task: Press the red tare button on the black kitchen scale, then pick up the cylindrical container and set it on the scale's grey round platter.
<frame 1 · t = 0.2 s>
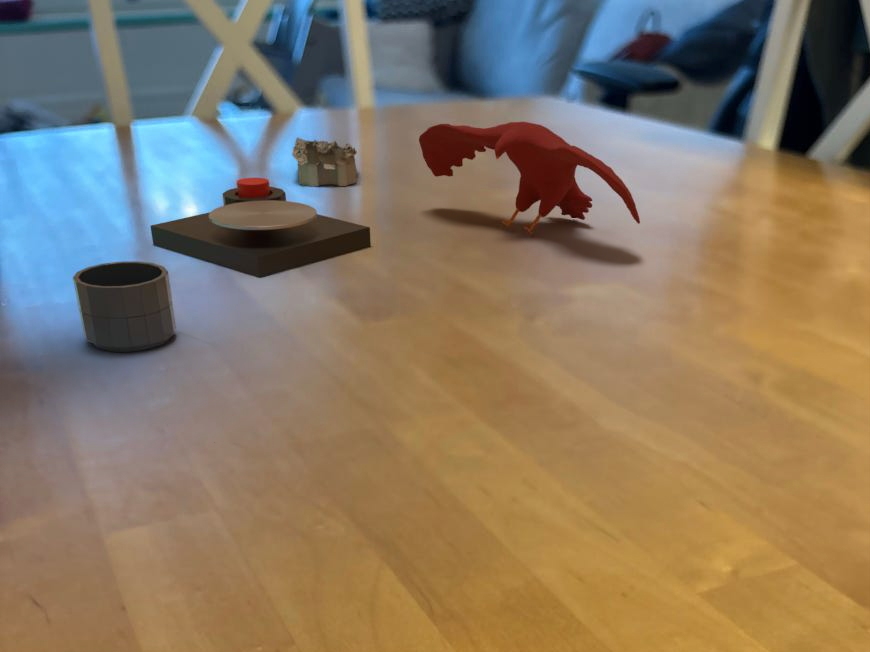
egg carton: (325, 179, 134), on the table
cylindrical container: (131, 338, 86), on the table
tare button: (253, 189, 112), point 4 cm above the table, slide at 0.1 cm
scale: (262, 246, 108), on the table
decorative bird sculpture: (536, 232, 114), on the table
grey round platter: (267, 254, 106), resting on scale
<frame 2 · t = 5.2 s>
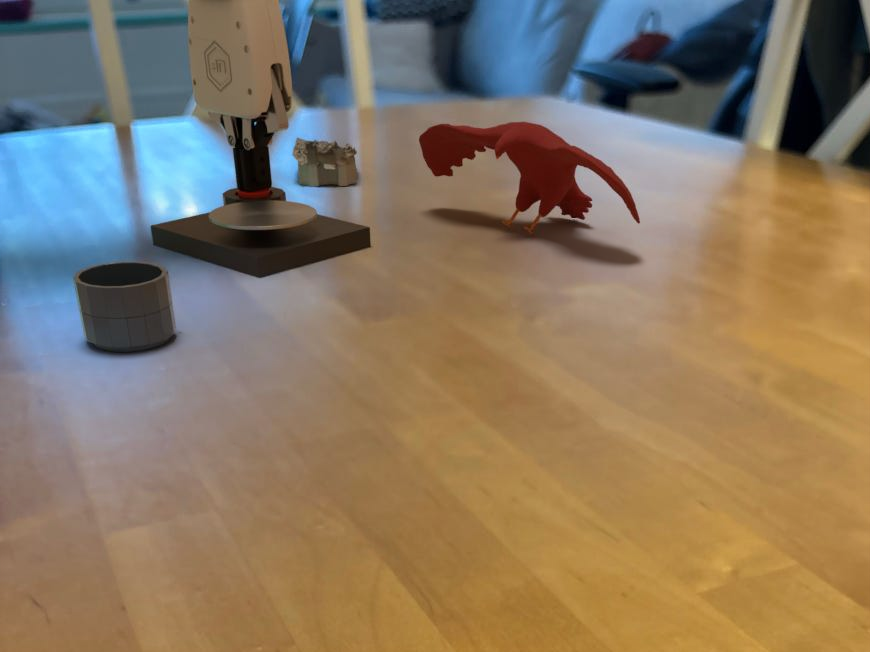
hand: (254, 188, 112), 4 cm above the table, tool pointing down, fingers closed
tare button: (254, 197, 112), point 3 cm above the table, slide at -0.7 cm, touching gripper
everything else where it was.
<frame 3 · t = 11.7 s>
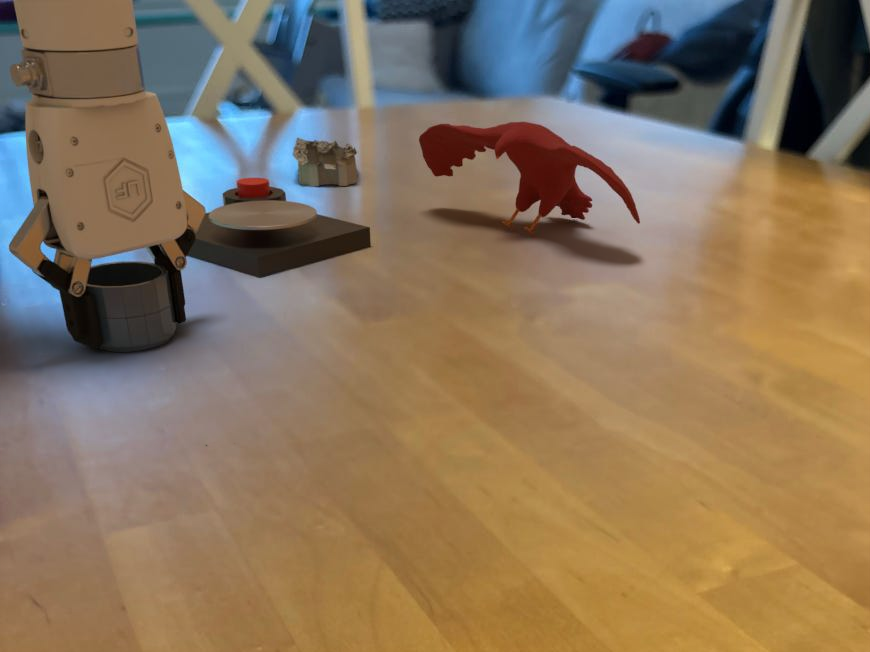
hand: (130, 329, 86), 1 cm above the table, tool pointing down, fingers closed on cylindrical container, 6 cm apart
cylindrical container: (131, 338, 86), on the table, touching gripper
tare button: (253, 189, 112), point 4 cm above the table, slide at 0.1 cm
everything else where it was.
when the fingers open (5 cm above the table, at t = 19.5 s): cylindrical container stays where it is, resting on grey round platter.
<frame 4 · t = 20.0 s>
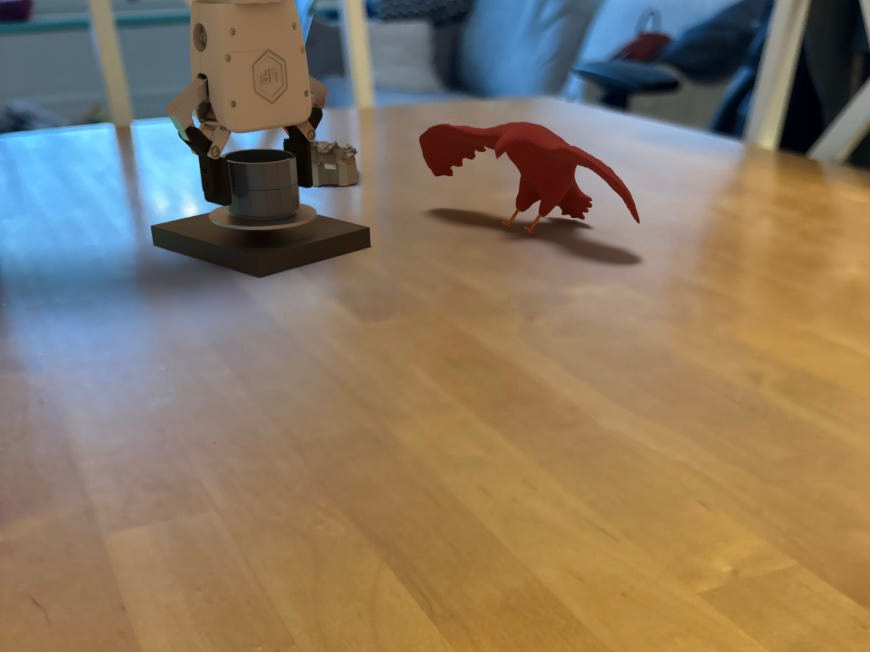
hand: (260, 194, 103), 5 cm above the table, tool pointing down, fingers open, 9 cm apart
cylindrical container: (264, 213, 104), point 4 cm above the table, touching grey round platter
everything else where it was.
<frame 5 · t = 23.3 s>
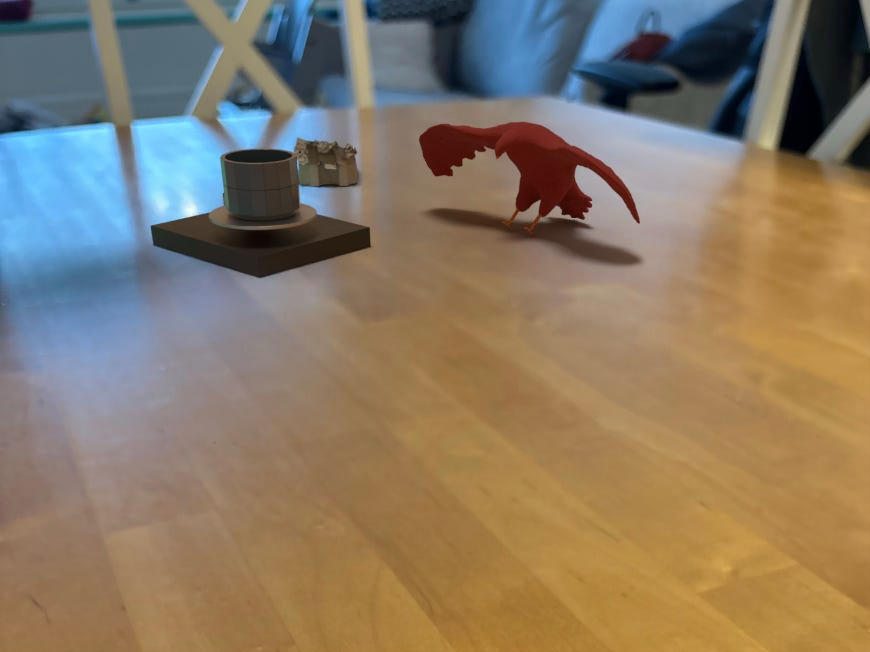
nothing on the table moved.
at the end: tare button pushed in 0.9 cm at the most during the clip, back to where it started at the end; cylindrical container inside the target area on the scale (0.1 cm from its centre), point 3.8 cm above the scale's base; cylindrical container tilted 0° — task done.
